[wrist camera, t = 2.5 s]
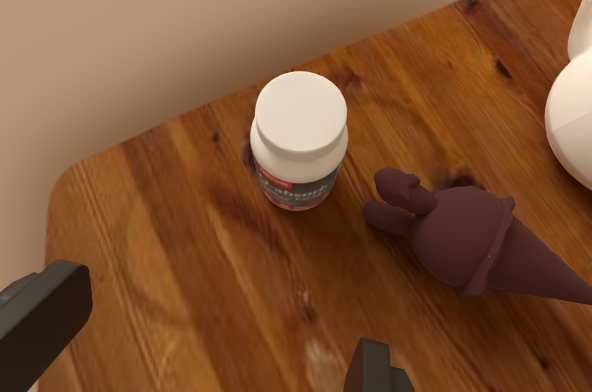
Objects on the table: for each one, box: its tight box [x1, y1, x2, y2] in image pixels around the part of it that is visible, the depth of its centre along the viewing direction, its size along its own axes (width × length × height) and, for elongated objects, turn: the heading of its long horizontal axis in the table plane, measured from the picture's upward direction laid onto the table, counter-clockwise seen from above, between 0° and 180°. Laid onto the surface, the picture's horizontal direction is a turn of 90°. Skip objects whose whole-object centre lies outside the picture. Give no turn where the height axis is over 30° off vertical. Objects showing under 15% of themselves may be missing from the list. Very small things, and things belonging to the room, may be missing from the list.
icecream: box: [362, 167, 592, 305], centre depth 24 cm, size 7×7×15 cm
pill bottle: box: [250, 71, 348, 211], centre depth 24 cm, size 6×6×10 cm
